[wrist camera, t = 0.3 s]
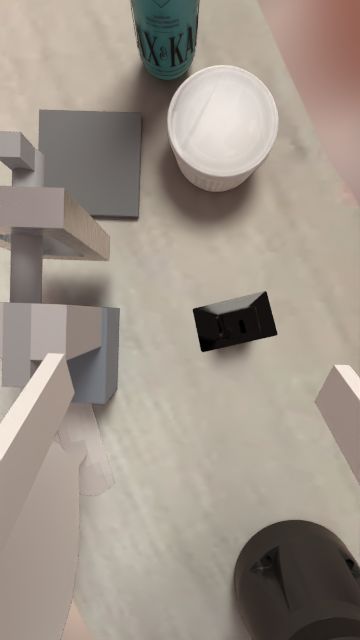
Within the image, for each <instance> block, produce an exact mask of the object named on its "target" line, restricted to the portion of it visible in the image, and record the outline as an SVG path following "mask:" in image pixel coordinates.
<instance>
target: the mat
mask: <svg viewBox="0 0 360 640" xmlns="http://www.w3.org/2000/svg"><path fill="white" fill-rule="evenodd" d="M141 134H142V114H141V113H129V112H98V111H66V110H39V151H40V152H41V153H42V154H43V155H44V158H45V160H44V187H51V188H65V189H66V190H67V191H68V192H69V194H70V195H71V196H72V197H73V198H74V199H75V200H76V201H77V202H78V203H79V204H80V205H81V206H82V207H83V208H84V209H85V211H86V212H87V213H88V214H89V215H90V216H92V217H121V218H139V197H140V165H141Z"/></svg>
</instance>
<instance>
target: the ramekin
mask: <svg viewBox="0 0 360 640" xmlns="http://www.w3.org/2000/svg"><path fill="white" fill-rule="evenodd" d="M167 132H168V138H169V142H170V145H171V148H172V150H173V152H174V154H175V157H176V160H177V163H178V166H179V168H180V170H181V172H182V173H183V175H184V176H185V177H186V178H187V179H188V180H189V181H190V182H191V183H193V184H194V185H195V186H197V187H199V188H201V189H204V190H207V191H214V192H218V191H227V190H230V189H232V188H234V187H237V186H238V185H240V184H241V183H242V182H243V181H245V180H246V179H247V178H248V177H249V176H250V175H251V173H252V172H254V171H255V170H256V169H258V168H259V167H260V166H261V165H262V163H263V162H264V161H265V160H266V158H267V157H268V155H269V154H270V152H271V150H272V148H273V146H274V143H275V140H276V137H277V132H278V112H277V108H276V105H275V101H274V99H273V97H272V95H271V93H270V91H269V90H268V89H267V87H266V86H265V85H264V84H263V83H262V81H261V80H260V79H258V78H257V77H256V76H254V75H253V74H251V73H250V72H248V71H246V70H243V69H241V68H238V67H235V66H228V65H218V66H212V67H208V68H205V69H202V70H200V71H198V72H196V73H194V74H193V75H191V76H190V77H189V78H187V79H186V80H185V81H184V82H183V83H182V84H181V85H180V87H179V88H178V89H177V91H176V92H175V94H174V96H173V98H172V100H171V102H170V105H169V109H168V114H167Z"/></svg>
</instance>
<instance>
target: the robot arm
mask: <svg viewBox="0 0 360 640" xmlns="http://www.w3.org/2000/svg"><path fill="white" fill-rule="evenodd" d="M74 393H75V392H74V388H73V385H72V381H71V377H70V373H69V370H68V366H67V362H66V359H65V355H64V354H56V353H48V354H47V356H46V357H45V358H44V360H43V361H42V363H41V364H40V366H39V367H38V369H37V370H36V372H35V373H34V375H33V376H32V378H31V379H30V381H29V382H28V384H27V385H26V386H25V388H24V389H23V391H22V392H21V394H20V395H19V397H18V398H17V400H16V401H15V403H14V404H13V406H12V407H11V409H10V410H9V412H8V413H7V414H6V416H5V417H4V419H3V420H2V422H1V423H0V557H1V554H2V552H3V550H4V548H5V546H6V543H7V541H8V539H9V537H10V535H11V532H12V530H13V528H14V526H15V523H16V521H17V519H18V517H19V515H20V512H21V510H22V508H23V506H24V504H25V501H26V499H27V497H28V495H29V493H30V490H31V488H32V486H33V484H34V482H35V479H36V477H37V475H38V473H39V470H40V468H41V466H42V464H43V462H44V459H45V457H46V455H47V453H48V451H49V448H50V446H51V444H52V442H53V440H54V437H55V435H56V433H57V431H58V429H59V426H60V424H61V422H62V420H63V417H64V415H65V413H66V411H67V409H68V406H69V404H70V402H71V400H72V398H73V395H74ZM315 403H316V405H317V407H318V409H319V411H320V412H321V414H322V416H323V418H324V420H325V422H326V424H327V425H328V427H329V429H330V431H331V433H332V435H333V437H334V438H335V440H336V442H337V444H338V446H339V448H340V449H341V451H342V453H343V455H344V457H345V459H346V461H347V462H348V464H349V466H350V468H351V470H352V472H353V473H354V475H355V477H356V479H357V481H358V483H359V485H360V378H359V377H358V376H357V374H356V373H355V372H354V371H353V369H352V368H351V367H350V366H349V365H334V366H333V368H332V369H331V371H330V373H329V375H328V377H327V379H326V381H325V383H324V385H323V387H322V389H321V390H320V392H319V394H318V396H317V398H316V400H315ZM235 589H236V595H237V600H238V605H239V609H240V613H241V616H242V619H243V622H244V624H245V626H246V628H247V630H248V632H249V634H250V637H251V639H252V640H360V567H359V565H358V563H357V562H356V560H355V559H354V557H353V556H352V554H351V553H350V552H349V550H348V549H347V547H346V546H345V544H344V543H343V542H342V541H341V540H340V539H339V538H338V537H337V536H336V535H335V534H334V533H333V532H331V531H330V530H328V529H327V528H325V527H323V526H321V525H318V524H316V523H313V522H309V521H303V520H288V521H282V522H278V523H275V524H272V525H270V526H268V527H266V528H264V529H262V530H261V531H259V532H258V533H257V534H256V535H254V536H253V537H252V538H251V539H250V540H249V542H248V543H247V544H246V545H245V547H244V548H243V550H242V552H241V554H240V556H239V558H238V561H237V564H236V569H235Z"/></svg>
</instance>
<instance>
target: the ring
mask: <svg viewBox="0 0 360 640" xmlns="http://www.w3.org/2000/svg"><path fill="white" fill-rule="evenodd" d="M11 235H32V236H43V257H42V259H61V260H89V261H109V259H110V236H109V235H108V234H107V233H106V232H105V231H104V230H103V229H102V228H101V226H100V225H99V224H98V223H97V222H96V221H95V220H94V219H93V218H92V217H91V216H90V215H89V214H88V213H87V212H86V211H85V209H84V208H83V207H82V206H81V205H80V204H79V203H78V202H77V201H76V200H75V199H74V198H73V197H72V196H71V195H70V194H69V192H68V191H67V190H66V189H65V188H51V187H21V186H0V247H2V248H4V249H7V250H10V251H11Z"/></svg>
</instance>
